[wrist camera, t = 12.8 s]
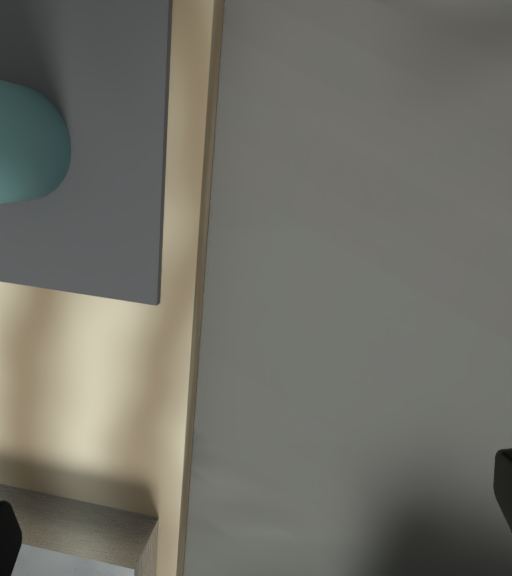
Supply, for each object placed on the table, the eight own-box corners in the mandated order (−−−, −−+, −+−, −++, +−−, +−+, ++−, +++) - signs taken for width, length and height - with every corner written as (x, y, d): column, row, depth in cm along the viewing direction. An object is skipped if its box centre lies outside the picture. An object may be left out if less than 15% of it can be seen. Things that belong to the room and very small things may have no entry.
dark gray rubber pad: (173, -17, 16) (169, -22, 15) (160, 302, 19) (156, 305, 19) (-126, -36, 17) (-137, -41, 17) (-87, 265, 20) (-94, 267, 20)
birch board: (224, 0, 17) (214, -14, 15) (177, 649, 27) (169, 676, 26) (-123, -23, 19) (-160, -38, 17) (-43, 594, 29) (-62, 617, 27)
